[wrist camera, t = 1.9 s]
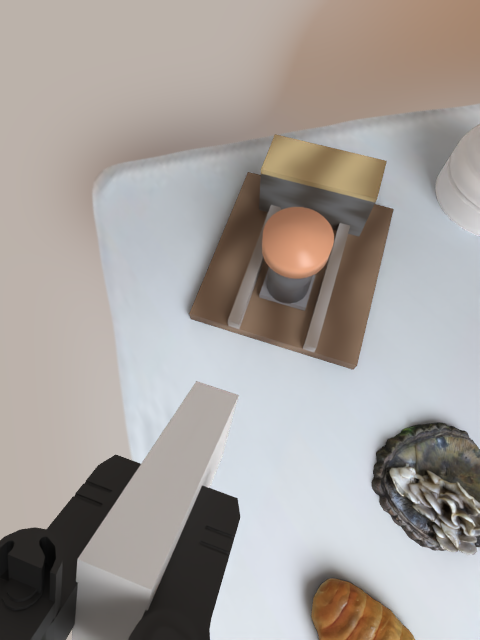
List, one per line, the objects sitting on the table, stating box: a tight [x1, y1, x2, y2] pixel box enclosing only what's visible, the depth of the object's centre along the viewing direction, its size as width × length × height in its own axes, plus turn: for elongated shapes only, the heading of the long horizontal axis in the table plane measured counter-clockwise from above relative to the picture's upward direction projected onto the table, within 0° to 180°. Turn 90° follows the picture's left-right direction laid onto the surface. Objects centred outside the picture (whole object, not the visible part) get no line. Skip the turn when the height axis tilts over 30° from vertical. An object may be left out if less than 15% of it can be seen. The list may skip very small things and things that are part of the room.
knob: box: [259, 207, 334, 311], centre depth 38 cm, size 6×6×10 cm
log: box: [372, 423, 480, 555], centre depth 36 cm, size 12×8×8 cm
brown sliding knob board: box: [189, 134, 393, 369], centre depth 42 cm, size 18×20×8 cm
